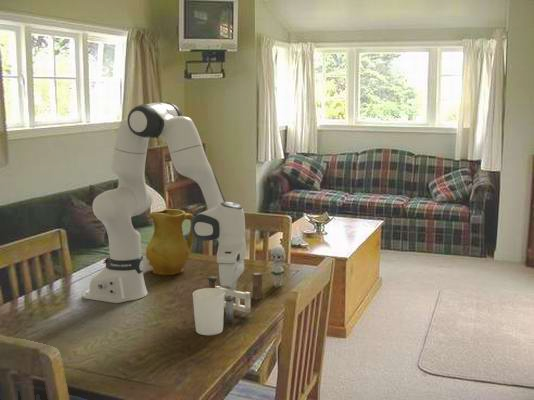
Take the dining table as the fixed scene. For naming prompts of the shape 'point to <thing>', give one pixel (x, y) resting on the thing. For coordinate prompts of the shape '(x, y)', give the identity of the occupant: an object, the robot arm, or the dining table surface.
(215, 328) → the candle holder
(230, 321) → the post
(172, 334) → the dining table surface
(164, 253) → the pitcher
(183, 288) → the dining table surface
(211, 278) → the hinge post
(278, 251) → the figurine
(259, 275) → the fence post
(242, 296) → the gate
